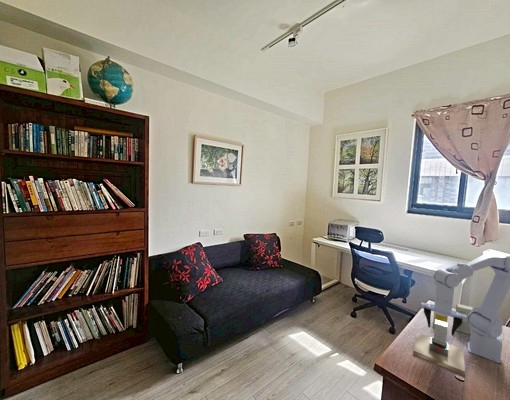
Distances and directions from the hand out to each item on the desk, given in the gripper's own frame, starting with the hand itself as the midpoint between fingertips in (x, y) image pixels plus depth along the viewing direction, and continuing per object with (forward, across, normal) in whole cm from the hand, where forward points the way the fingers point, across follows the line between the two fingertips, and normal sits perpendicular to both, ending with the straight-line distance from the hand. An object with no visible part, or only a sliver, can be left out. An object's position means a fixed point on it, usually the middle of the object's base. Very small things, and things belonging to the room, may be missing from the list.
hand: (440, 330), depth 97 cm
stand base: (+10, 0, 0) cm, 10 cm away
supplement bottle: (+10, 0, +26) cm, 28 cm away
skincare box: (+10, +9, +28) cm, 32 cm away
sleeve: (+8, 0, -1) cm, 8 cm away
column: (+5, 0, 0) cm, 5 cm away
